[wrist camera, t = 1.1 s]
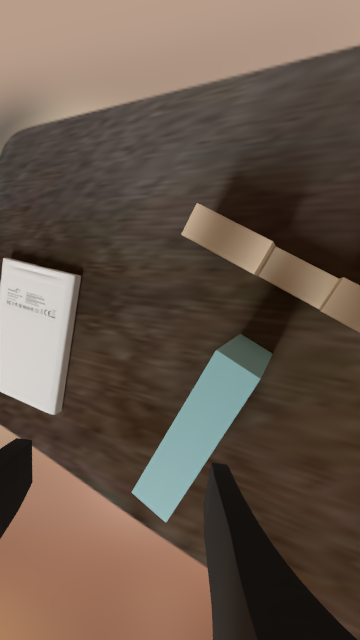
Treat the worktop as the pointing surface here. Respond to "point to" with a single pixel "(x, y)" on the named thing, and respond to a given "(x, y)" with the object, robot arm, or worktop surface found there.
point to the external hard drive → (36, 332)
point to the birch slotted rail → (275, 265)
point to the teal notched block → (201, 423)
